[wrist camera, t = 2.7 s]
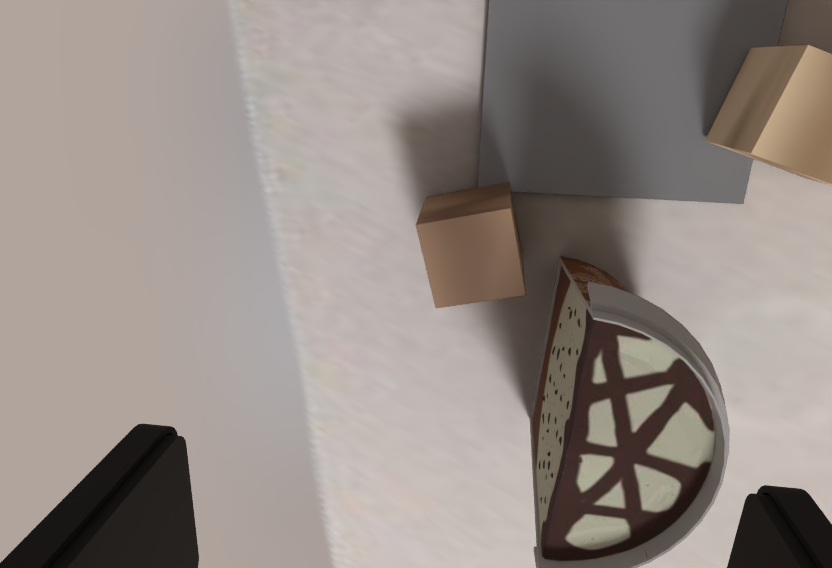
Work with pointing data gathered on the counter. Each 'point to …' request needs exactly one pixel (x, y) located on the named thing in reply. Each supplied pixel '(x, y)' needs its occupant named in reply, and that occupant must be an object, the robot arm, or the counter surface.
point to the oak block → (781, 111)
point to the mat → (617, 95)
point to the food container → (620, 427)
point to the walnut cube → (471, 246)
